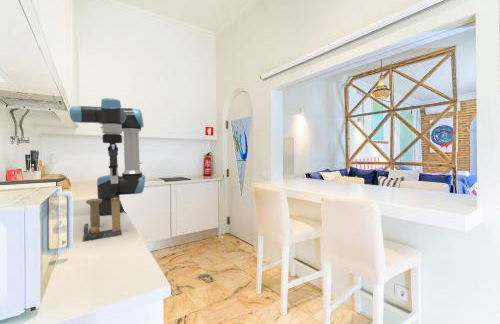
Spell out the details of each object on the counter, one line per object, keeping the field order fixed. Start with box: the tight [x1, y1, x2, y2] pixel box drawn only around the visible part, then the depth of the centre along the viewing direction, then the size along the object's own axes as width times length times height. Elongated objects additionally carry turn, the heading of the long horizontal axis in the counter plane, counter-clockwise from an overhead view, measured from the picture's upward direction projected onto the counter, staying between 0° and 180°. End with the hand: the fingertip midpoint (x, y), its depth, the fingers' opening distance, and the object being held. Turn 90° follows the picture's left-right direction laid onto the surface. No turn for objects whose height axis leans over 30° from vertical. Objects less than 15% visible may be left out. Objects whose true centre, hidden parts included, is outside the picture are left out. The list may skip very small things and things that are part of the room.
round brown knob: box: [88, 227, 100, 235], centre depth 107 cm, size 4×4×4 cm
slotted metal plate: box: [81, 223, 123, 242], centre depth 109 cm, size 11×14×6 cm
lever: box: [111, 196, 122, 233], centre depth 111 cm, size 4×4×15 cm
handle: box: [85, 198, 102, 229], centre depth 118 cm, size 5×6×15 cm
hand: (114, 181), depth 110 cm, fingers open, 13 cm apart
